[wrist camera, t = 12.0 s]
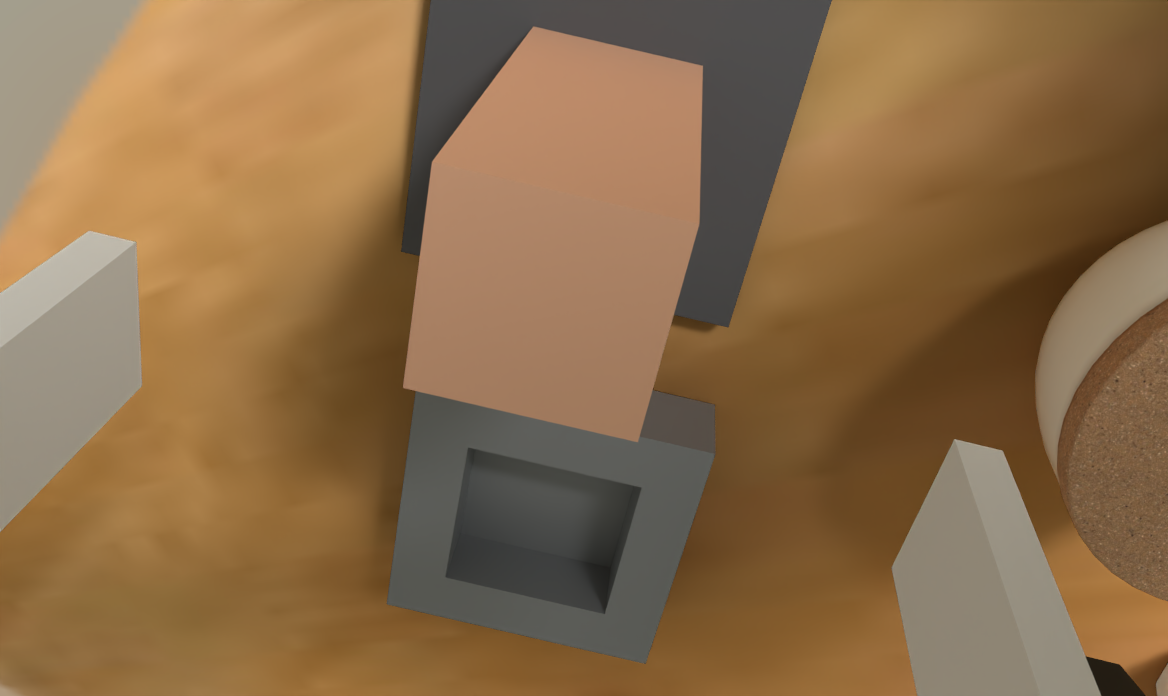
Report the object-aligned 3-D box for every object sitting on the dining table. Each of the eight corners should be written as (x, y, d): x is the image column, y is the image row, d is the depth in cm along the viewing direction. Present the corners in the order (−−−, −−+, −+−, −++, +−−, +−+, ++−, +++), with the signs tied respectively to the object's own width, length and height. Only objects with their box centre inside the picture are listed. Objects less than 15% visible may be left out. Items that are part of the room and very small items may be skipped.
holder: (714, 404, 35) (715, 454, 32) (649, 607, 40) (645, 663, 37) (438, 340, 35) (416, 384, 32) (407, 551, 40) (386, 604, 37)
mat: (834, -23, 28) (837, -18, 27) (727, 316, 33) (728, 327, 32) (450, -112, 28) (443, -110, 27) (407, 242, 33) (401, 251, 32)
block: (702, 65, 28) (699, 223, 18) (661, 223, 31) (637, 441, 21) (533, 26, 28) (431, 161, 18) (505, 187, 31) (403, 388, 21)
